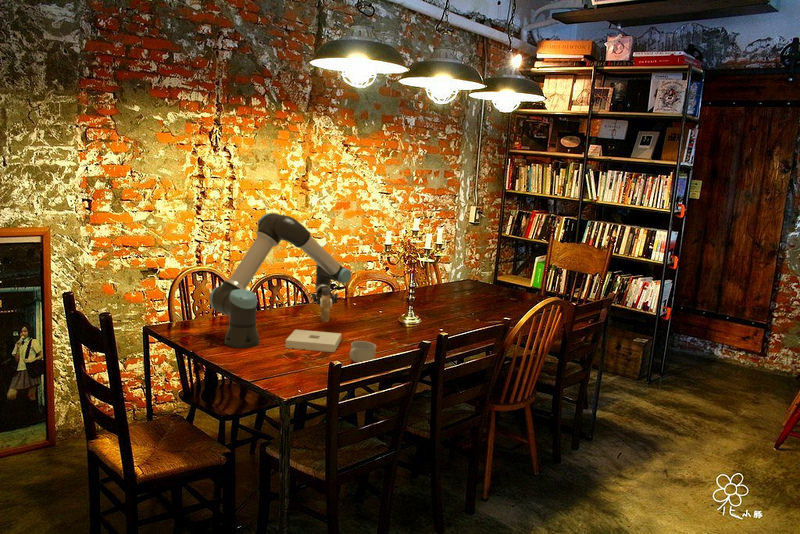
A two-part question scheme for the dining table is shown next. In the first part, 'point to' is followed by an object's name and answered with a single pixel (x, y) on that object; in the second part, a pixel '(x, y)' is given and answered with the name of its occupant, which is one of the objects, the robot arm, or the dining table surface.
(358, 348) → the teacup
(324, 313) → the plug
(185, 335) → the dining table surface
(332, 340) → the beige socket block
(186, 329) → the dining table surface
